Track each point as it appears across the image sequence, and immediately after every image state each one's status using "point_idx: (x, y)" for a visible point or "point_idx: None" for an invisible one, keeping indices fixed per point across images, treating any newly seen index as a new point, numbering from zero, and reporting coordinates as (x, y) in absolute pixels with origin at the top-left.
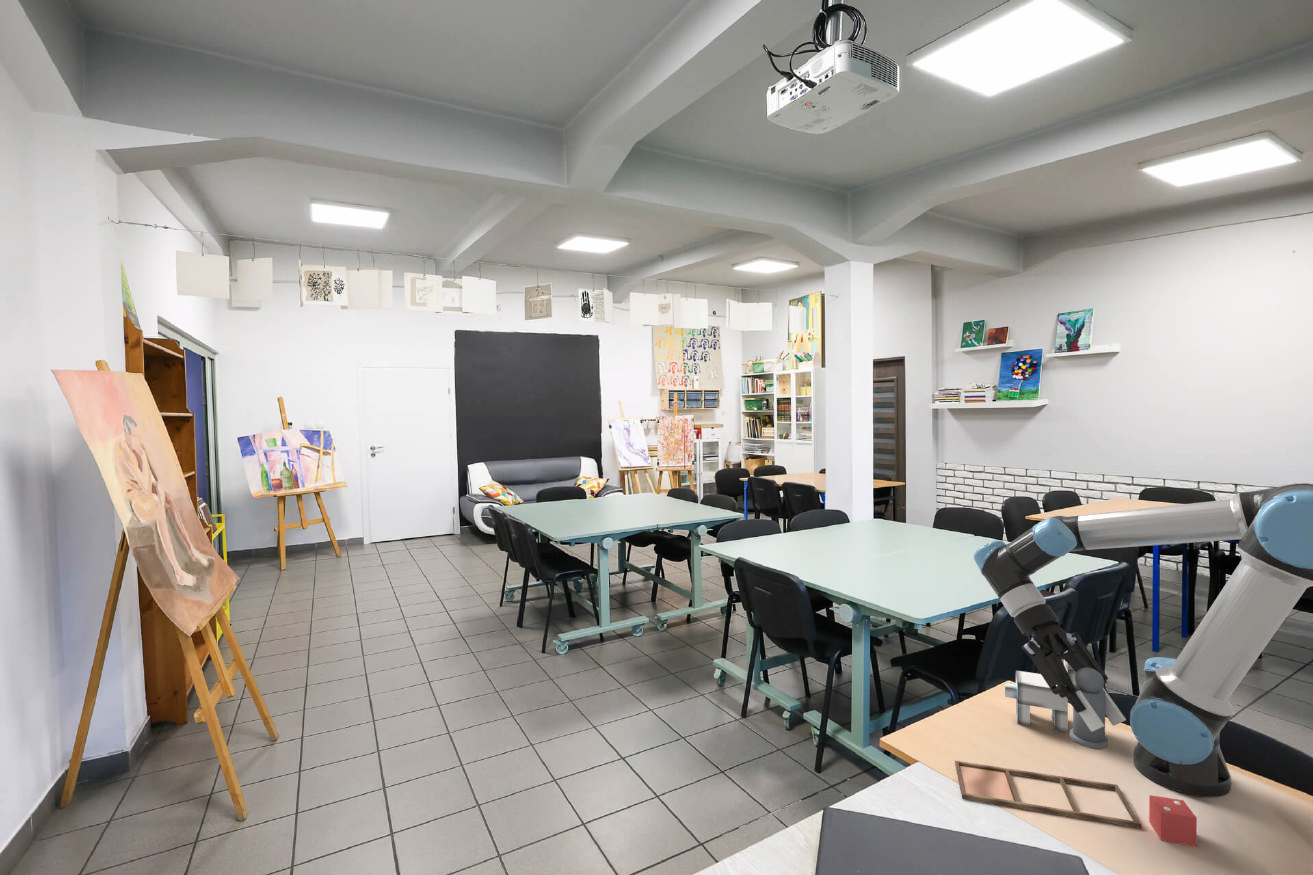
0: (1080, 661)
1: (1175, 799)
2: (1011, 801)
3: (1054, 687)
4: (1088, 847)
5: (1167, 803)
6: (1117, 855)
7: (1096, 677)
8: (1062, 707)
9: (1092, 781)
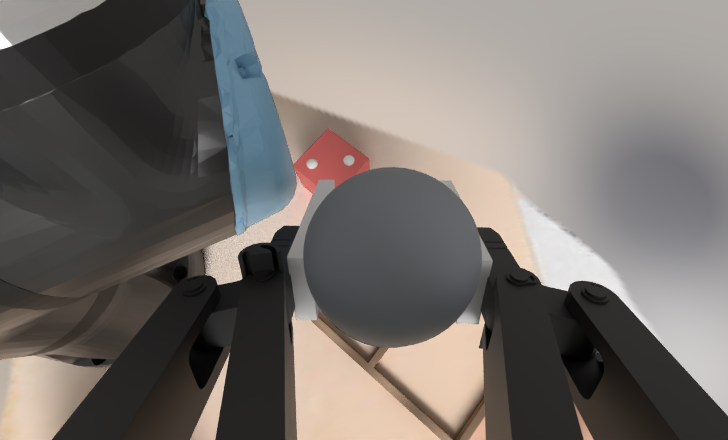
0: (271, 420)
1: (302, 172)
2: None
3: (593, 354)
4: (496, 210)
5: (329, 170)
6: (468, 182)
7: (416, 172)
8: None
9: (322, 327)
